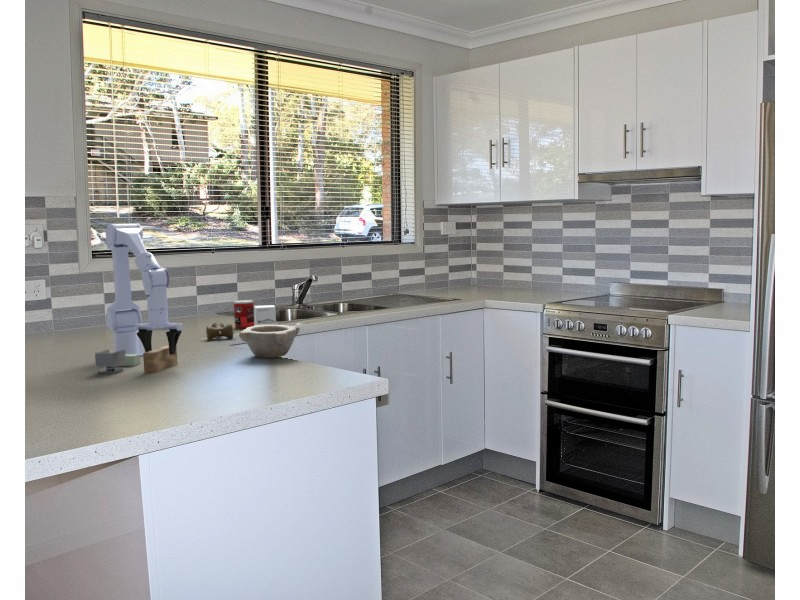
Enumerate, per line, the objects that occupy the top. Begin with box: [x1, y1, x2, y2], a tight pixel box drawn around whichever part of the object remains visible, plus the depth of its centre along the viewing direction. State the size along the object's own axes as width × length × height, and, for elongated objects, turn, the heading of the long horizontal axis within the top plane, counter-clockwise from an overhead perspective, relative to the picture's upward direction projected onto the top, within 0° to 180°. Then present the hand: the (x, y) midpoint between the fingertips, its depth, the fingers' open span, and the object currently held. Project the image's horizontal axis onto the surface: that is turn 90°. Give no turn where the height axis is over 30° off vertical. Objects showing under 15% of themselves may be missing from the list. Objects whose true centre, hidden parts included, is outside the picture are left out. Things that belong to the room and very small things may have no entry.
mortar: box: [238, 324, 301, 359], centre depth 230 cm, size 17×17×9 cm
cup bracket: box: [94, 349, 126, 375], centre depth 211 cm, size 6×6×6 cm
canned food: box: [233, 299, 255, 329], centre depth 295 cm, size 8×8×11 cm
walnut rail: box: [142, 344, 178, 374], centre depth 214 cm, size 14×3×6 cm, turn 169°
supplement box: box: [254, 304, 277, 326], centre depth 261 cm, size 7×7×13 cm
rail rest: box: [118, 354, 141, 367], centre depth 221 cm, size 4×5×3 cm
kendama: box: [205, 322, 234, 341], centre depth 270 cm, size 6×10×20 cm
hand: (160, 354), depth 214 cm, fingers open, 7 cm apart
